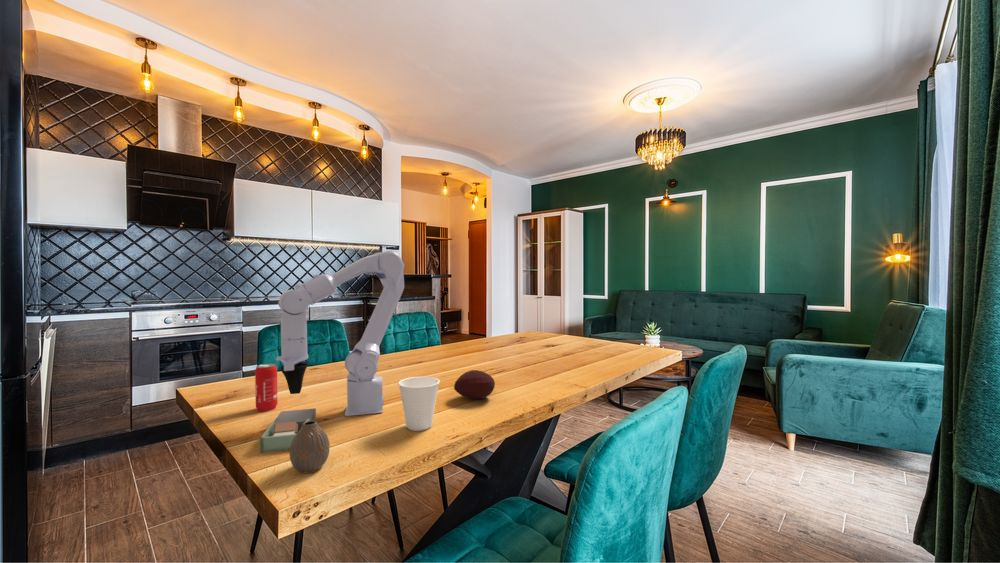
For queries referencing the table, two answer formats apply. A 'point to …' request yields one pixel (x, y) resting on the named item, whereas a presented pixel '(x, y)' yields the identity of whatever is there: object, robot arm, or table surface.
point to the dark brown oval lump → (474, 384)
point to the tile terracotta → (286, 427)
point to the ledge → (296, 416)
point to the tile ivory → (284, 433)
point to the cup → (419, 401)
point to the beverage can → (266, 387)
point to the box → (275, 440)
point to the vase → (309, 448)
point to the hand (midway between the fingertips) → (295, 393)
